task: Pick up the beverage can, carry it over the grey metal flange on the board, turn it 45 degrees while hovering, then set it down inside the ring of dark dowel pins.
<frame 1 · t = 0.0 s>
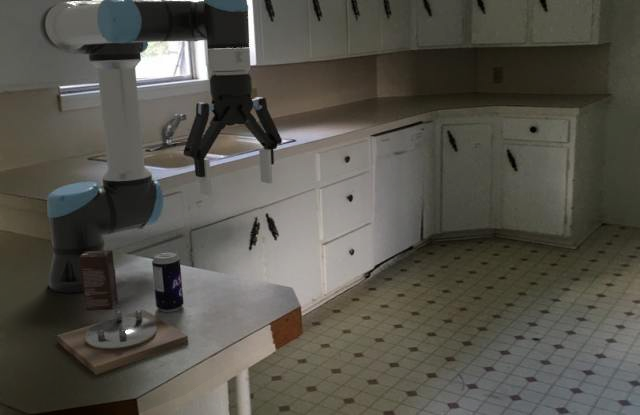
hand: (237, 188, 128), 28 cm above the counter, fingers open, 13 cm apart
flange: (120, 328, 128), on the base plate, point 2 cm above the counter
base plate: (122, 342, 129), on the counter
box: (102, 306, 148), on the counter
beverage can: (170, 309, 145), on the counter
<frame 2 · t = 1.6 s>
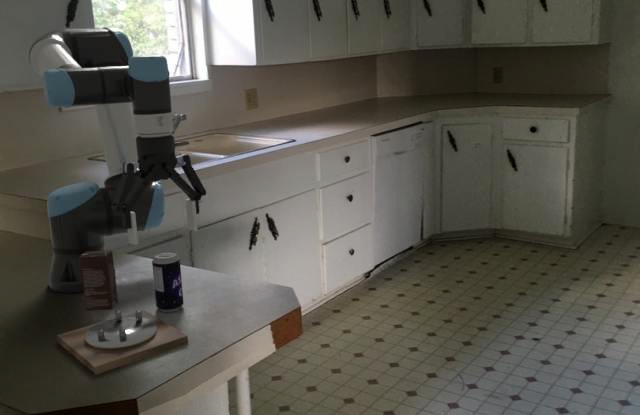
hand: (164, 236, 141), 16 cm above the counter, fingers open, 13 cm apart
nothing on the counter moved.
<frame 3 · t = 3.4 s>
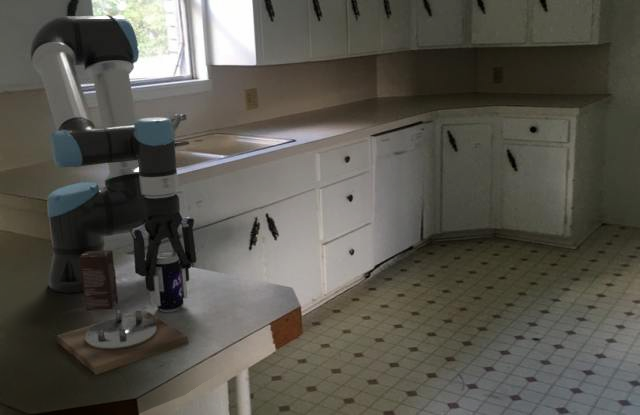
hand: (169, 300, 145), 2 cm above the counter, fingers closed on beverage can, 6 cm apart
beverage can: (170, 309, 145), on the counter, touching gripper
everything else where it was.
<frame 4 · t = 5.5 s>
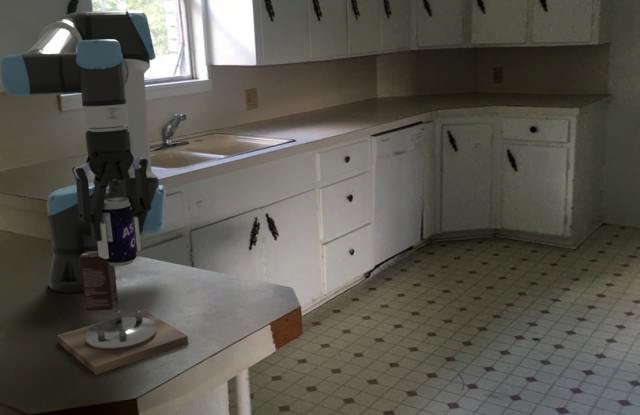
hand: (120, 253, 126), 17 cm above the counter, fingers closed on beverage can, 6 cm apart
beverage can: (121, 263, 127), point 15 cm above the counter, touching gripper
everything else where it was.
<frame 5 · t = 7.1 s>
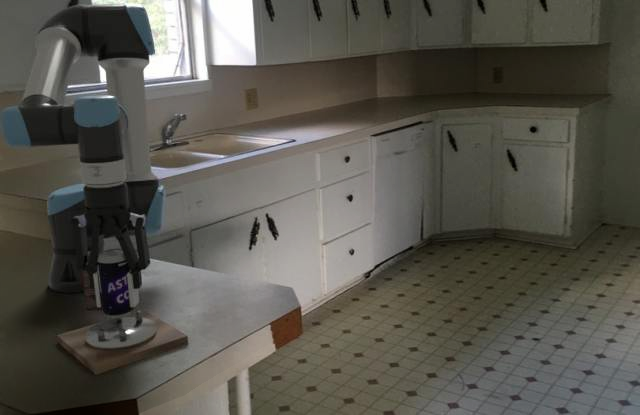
hand: (118, 304, 127), 8 cm above the counter, fingers closed on beverage can, 6 cm apart
beverage can: (119, 314, 128), point 6 cm above the counter, touching gripper
everything else where it was.
when the fingers open (5 cm above the counter, at t = 8.0 s): beverage can stays where it is, resting on flange.
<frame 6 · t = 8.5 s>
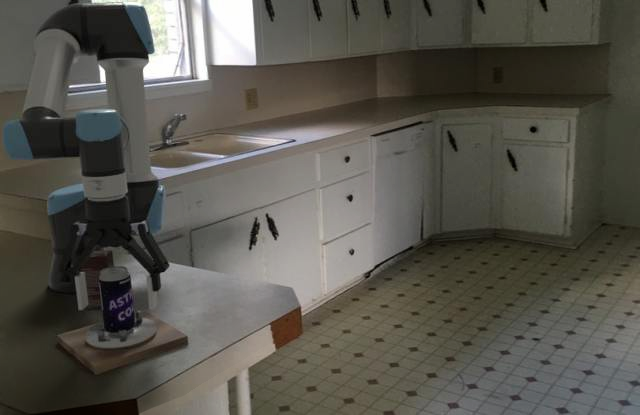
hand: (118, 307, 127), 7 cm above the counter, fingers open, 13 cm apart
beverage can: (120, 331, 128), point 2 cm above the counter, touching flange
everything else where it was.
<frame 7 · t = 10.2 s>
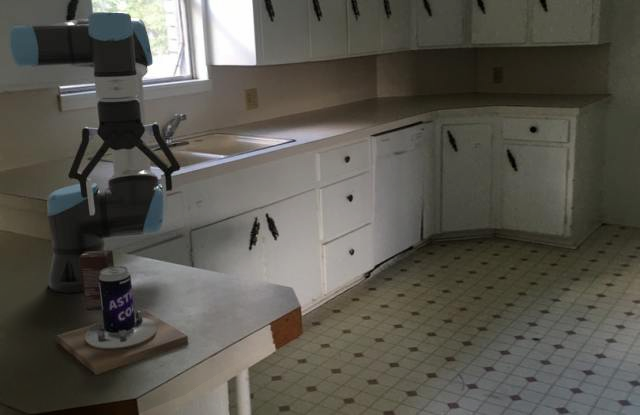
hand: (129, 210, 131), 24 cm above the counter, fingers open, 13 cm apart
nothing on the counter moved.
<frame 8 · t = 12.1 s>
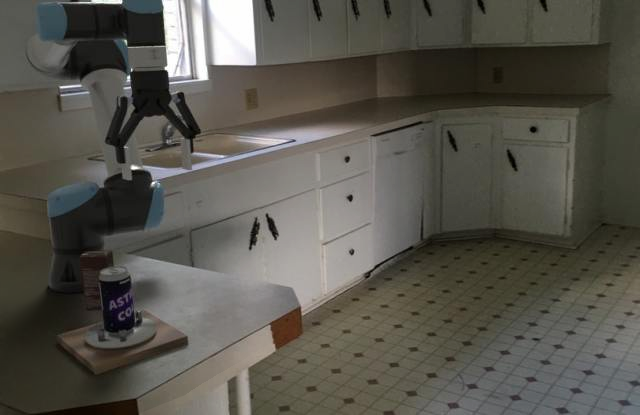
hand: (158, 174, 140), 29 cm above the counter, fingers open, 13 cm apart
nothing on the counter moved.
at the end: beverage can 0.1 cm from the flange (horizontally); beverage can tilted 0°; the gripper is holding nothing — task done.
